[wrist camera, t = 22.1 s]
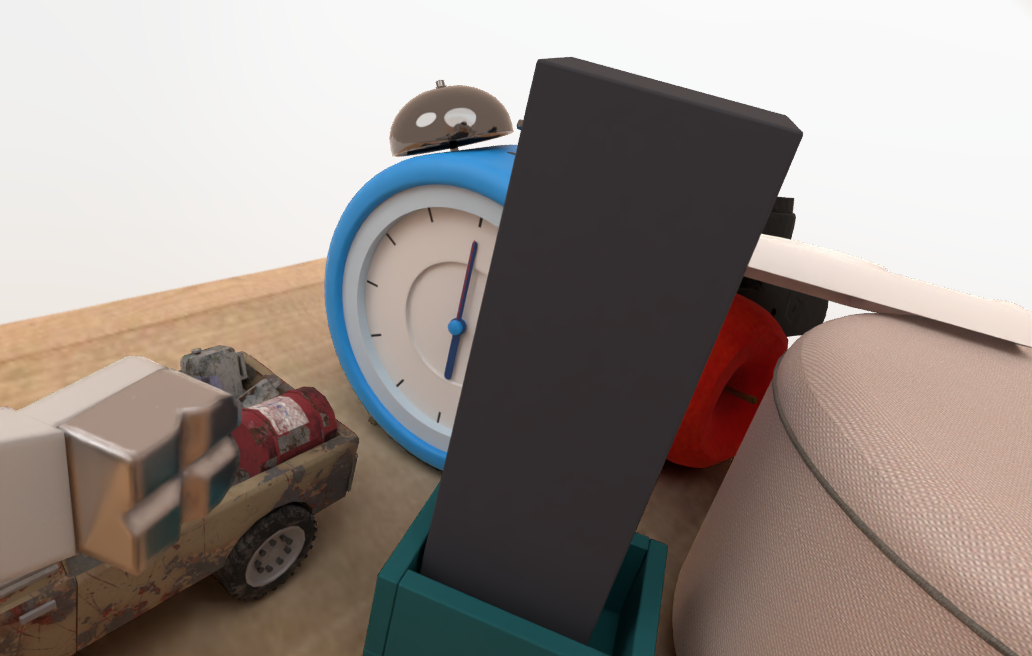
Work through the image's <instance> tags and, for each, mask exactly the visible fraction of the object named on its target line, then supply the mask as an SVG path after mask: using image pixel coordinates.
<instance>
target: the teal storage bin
mask: <svg viewBox="0 0 1032 656" xmlns="http://www.w3.org/2000/svg"><path fill="white" fill-rule="evenodd" d="M439 486H440V482H439V484H438V485H437V487H436V488H435V490H434V491H433V493H432V494H431V496H430V497H429V499H428V500H427V502H426V504H425V505H424V507H423V508H422V510H421V511H420V513H419V514H418V516H417V517H416V519H415V520H414V522H413V523H412V525H411V526H410V528H409V529H408V531H407V532H406V534H405V535H404V537H403V538H402V540H401V541H400V543H399V544H398V546H397V547H396V549H395V550H394V552H393V553H392V555H391V556H390V558H389V559H388V561H387V562H386V564H385V565H384V567H383V568H382V570H381V571H380V573H379V574H378V577H377V583H376V588H375V593H374V598H373V604H372V609H371V614H370V620H369V625H368V630H367V635H366V641H365V646H364V651H363V656H655V649H656V640H657V632H658V624H659V616H660V607H661V599H662V591H663V582H664V574H665V566H666V558H667V549H668V546H667V545H666V544H664V543H661V542H659V541H656V540H653V539H649V537H647V536H644V535H641V534H639V533H636V532H635V533H634V536H633V538H632V541H631V543H630V545H629V548H628V550H627V552H626V555H625V557H624V559H623V562H622V564H621V567H620V569H619V571H618V574H617V576H616V578H615V581H614V583H613V585H612V588H611V590H610V593H609V595H608V597H607V600H606V602H605V604H604V607H603V609H602V611H601V614H600V616H599V619H598V621H597V623H596V626H595V628H594V630H593V633H592V635H591V637H590V640H589V642H588V645H587V646H586V645H584V644H582V643H579V642H577V641H575V640H572V639H570V638H568V637H565V636H563V635H561V634H558V633H556V632H554V631H551V630H549V629H547V628H544V627H542V626H540V625H537V624H535V623H533V622H530V621H528V620H526V619H523V618H521V617H519V616H516V615H514V614H512V613H509V612H507V611H505V610H502V609H500V608H498V607H495V606H493V605H491V604H488V603H486V602H484V601H481V600H479V599H477V598H474V597H472V596H470V595H467V594H465V593H463V592H460V591H458V590H456V589H453V588H451V587H449V586H446V585H444V584H442V583H439V582H437V581H435V580H432V579H430V578H428V577H425V576H423V575H421V574H419V573H420V568H421V564H422V560H423V555H424V551H425V547H426V542H427V538H428V534H429V529H430V525H431V520H432V516H433V512H434V507H435V503H436V499H437V494H438V490H439Z"/></svg>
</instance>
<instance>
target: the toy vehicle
mask: <svg viewBox="0 0 1032 656" xmlns="http://www.w3.org/2000/svg"><path fill="white" fill-rule="evenodd" d="M191 351H192V353H191V354H188V355H185V356H183V357H182V359H181V361H180V366H181V370H180V371H179V372H181V373H184V374H186V375H188V376H191V377H193V378H195V379H197V380H200V381H202V382H204V383H207V384H209V385H211V386H214V387H216V388H218V389H221V390H223V391H225V392H227V393H230V394H232V395H234V396H235V397H236V398H237V399H238V400H240V401H241V402H242V424H241V425H239V426H238V427H237V428H236V429H235V430H234V431H232V432H231V434H232V435H233V437H234V439H235V441H236V443H237V445H238V447H239V449H240V464H239V468H238V471H237V475H236V478H235V481H234V483H233V485H232V486H231V488H230V489H229V491H228V492H227V494H226V495H225V497H224V498H223V500H222V502H221V503H219V504H218V505H217V506H216V507H215V508H214V509H213V510H212V511H211V512H210V513H209V514H208V515H207V516H205V517H202V518H199V519H195V520H192V521H189V522H185V523H182V527H181V533H180V539H179V541H177V542H176V543H175V544H174V545H173V546H172V547H171V548H169V549H168V550H167V551H166V552H165V553H164V554H163V555H162V556H160V557H159V558H158V559H157V560H156V561H155V562H154V563H152V564H151V565H150V566H149V567H148V568H147V569H146V570H145V571H143V572H142V573H141V574H140V575H139V576H138V577H137V576H134V575H132V574H130V573H127V572H125V571H123V570H120V569H118V568H116V567H114V566H111V565H109V564H107V563H104V562H102V561H100V560H97V559H95V558H93V557H90V556H88V555H86V554H83V553H81V552H79V551H76V553H77V554H76V555H75V556H72V557H69V558H67V559H64V560H61V561H59V562H56V563H54V564H51V565H48V566H46V567H43V568H40V569H38V570H35V571H33V572H30V573H27V574H25V575H22V576H19V577H17V578H14V579H12V580H9V581H6V582H4V583H1V584H0V656H70V655H72V654H74V653H76V652H77V651H79V650H81V649H82V648H84V647H86V646H88V645H89V644H91V643H93V642H95V641H96V640H98V639H100V638H101V637H103V636H105V635H107V634H108V633H110V632H112V631H114V630H115V629H117V628H119V627H120V626H122V625H124V624H126V623H127V622H129V621H131V620H133V619H134V618H136V617H138V616H139V615H141V614H143V613H145V612H146V611H148V610H150V609H152V608H153V607H155V606H157V605H158V604H160V603H162V602H164V601H165V600H167V599H169V598H171V597H172V596H174V595H176V594H177V593H179V592H181V591H183V590H184V589H186V588H188V587H190V586H191V585H193V584H195V583H196V582H198V581H200V580H202V579H203V578H205V577H207V576H208V575H210V574H212V575H213V576H214V577H215V578H216V579H217V580H218V581H219V582H220V583H221V584H222V585H223V586H224V587H225V588H226V589H227V590H228V591H229V592H230V593H231V594H232V595H233V596H234V597H235V598H236V597H237V598H238V599H239V600H243V599H245V600H246V601H249V600H250V598H254V599H258V597H259V596H260V595H263V596H265V595H267V592H268V591H270V590H273V591H274V590H275V589H276V586H278V585H279V584H280V583H282V584H283V583H284V582H285V579H286V578H288V577H289V576H290V575H291V576H292V575H293V574H294V573H293V571H294V570H295V569H296V568H297V567H300V566H301V562H302V561H303V559H304V558H306V557H307V556H308V555H307V552H308V551H309V549H312V547H313V546H312V545H311V544H312V541H313V540H315V539H316V537H315V536H314V534H315V533H316V532H317V528H315V526H316V525H317V522H316V521H315V520H314V519H315V517H314V516H313V515H314V514H316V513H317V512H319V511H321V510H322V509H324V508H326V507H328V506H329V505H331V504H333V503H335V502H336V501H338V500H340V499H341V498H343V497H345V495H346V492H347V491H348V492H349V491H350V490H351V485H352V481H353V476H354V471H355V466H356V462H357V456H358V455H357V453H356V452H357V448H358V444H359V438H358V436H357V435H356V434H355V433H354V432H353V431H351V430H350V429H349V428H347V427H346V426H345V425H343V424H342V423H341V422H339V421H338V420H337V419H335V415H334V411H333V409H332V408H331V406H330V404H329V402H328V401H327V399H326V397H325V396H324V395H322V394H321V393H320V392H319V391H317V390H316V389H315V388H313V387H301V388H299V389H296V390H295V389H294V388H292V387H291V386H290V385H288V384H287V383H286V382H284V381H283V380H282V379H280V378H279V377H278V376H276V375H275V374H274V373H273V372H272V371H271V370H269V369H268V368H267V367H265V366H264V365H263V364H261V363H260V362H259V361H257V360H256V359H255V358H253V357H252V356H250V355H248V354H247V353H245V352H238V353H235V350H234V349H233V348H232V347H227V346H220V345H219V346H215V347H212V348H208V349H205V350H201V348H198V349H193V350H191ZM311 514H312V515H311Z"/></svg>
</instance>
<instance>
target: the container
mask: <svg viewBox="0 0 1032 656" xmlns="http://www.w3.org/2000/svg"><path fill="white" fill-rule="evenodd" d="M672 618H673V637H674V645H675V651H676V656H1032V348H1030V347H1026V346H1021V345H1017V344H1016V343H1014V342H1012V341H1009V340H1005V339H1002V338H998V337H995V336H991V335H988V334H984V333H981V332H977V331H974V330H970V329H967V328H963V327H960V326H956V325H953V324H949V323H946V322H942V321H939V320H935V319H932V318H928V317H924V316H916V315H908V314H892V313H864V314H855V315H849V316H845V317H841V318H837V319H834V320H830V321H826V322H824V323H822V324H820V325H818V326H816V327H814V328H812V329H811V330H809V331H807V332H806V333H804V334H803V335H802V336H801V337H800V338H799V339H797V340H796V341H795V343H794V344H793V345H792V346H791V347H790V348H789V349H787V350H786V351H785V353H784V354H783V355H782V356H781V357H780V358H779V360H778V362H777V364H776V366H775V369H774V373H773V379H772V381H771V383H770V385H769V387H768V389H767V391H766V393H765V395H764V397H763V399H762V401H761V403H760V406H759V408H758V410H757V412H756V414H755V416H754V418H753V420H752V422H751V424H750V426H749V428H748V430H747V432H746V435H745V437H744V439H743V441H742V443H741V445H740V447H739V449H738V451H737V453H736V455H735V457H734V459H733V461H732V464H731V466H730V468H729V470H728V472H727V474H726V476H725V478H724V480H723V482H722V484H721V486H720V488H719V490H718V493H717V495H716V497H715V499H714V501H713V503H712V505H711V507H710V509H709V511H708V513H707V515H706V517H705V519H704V522H703V524H702V526H701V528H700V530H699V532H698V534H697V536H696V538H695V540H694V542H693V544H692V546H691V548H690V551H689V553H688V555H687V557H686V559H685V561H684V563H683V566H682V568H681V570H680V573H679V575H678V580H677V584H676V588H675V592H674V601H673V613H672Z"/></svg>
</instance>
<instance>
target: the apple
mask: <svg viewBox="0 0 1032 656" xmlns="http://www.w3.org/2000/svg"><path fill="white" fill-rule="evenodd" d="M787 348H788V339H787V337H786V335H785V333H784V332H783V330H782V328H781V326H780V325H779V323H778V322H777V321H776V319H775V318H774V317H773V316H772V315H771V314H770V313H769V312H768V311H767V310H765V309H764V308H762V307H761V306H760V305H758V304H757V303H755V302H753V301H751V300H749V299H747V298H745V297H744V296H742V295H739V294H737V293H736V295H735V297H734V300H733V302H732V304H731V307H730V309H729V311H728V314H727V316H726V319H725V321H724V323H723V326H722V328H721V330H720V333H719V335H718V337H717V340H716V342H715V345H714V347H713V349H712V352H711V354H710V356H709V359H708V361H707V363H706V366H705V368H704V371H703V373H702V375H701V378H700V380H699V382H698V385H697V387H696V389H695V392H694V394H693V396H692V399H691V401H690V404H689V406H688V408H687V411H686V413H685V415H684V418H683V420H682V422H681V425H680V427H679V430H678V432H677V434H676V437H675V439H674V441H673V444H672V446H671V448H670V451H669V453H668V456H667V458H666V459H668V460H669V461H671V462H673V463H676V464H680V465H684V466H689V467H693V468H708V467H711V466H713V465H715V464H718V463H720V462H723V461H725V460H728V459H730V458H732V457H735V455H736V453H737V451H738V449H739V447H740V445H741V443H742V441H743V439H744V437H745V435H746V432H747V430H748V428H749V426H750V424H751V422H752V420H753V418H754V416H755V414H756V412H757V410H758V408H759V406H760V403H761V401H762V399H763V397H764V395H765V393H766V391H767V389H768V387H769V385H770V383H771V381H772V379H773V373H774V369H775V366H776V364H777V362H778V360H779V358H780V357H781V356H782V355H783V354H784V353H785V351H786V350H787Z"/></svg>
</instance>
